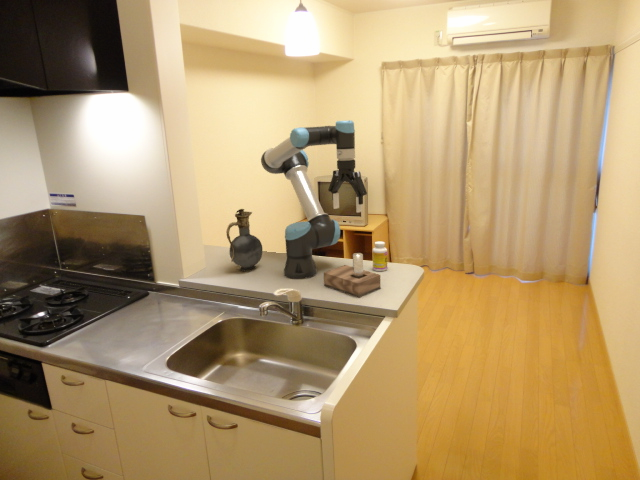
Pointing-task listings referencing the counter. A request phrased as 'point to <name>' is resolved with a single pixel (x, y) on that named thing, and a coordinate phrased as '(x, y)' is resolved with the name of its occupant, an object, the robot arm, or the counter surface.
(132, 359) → the counter surface
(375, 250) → the supplement bottle
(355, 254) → the pin
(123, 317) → the counter surface
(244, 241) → the pitcher
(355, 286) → the socket block
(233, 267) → the counter surface
